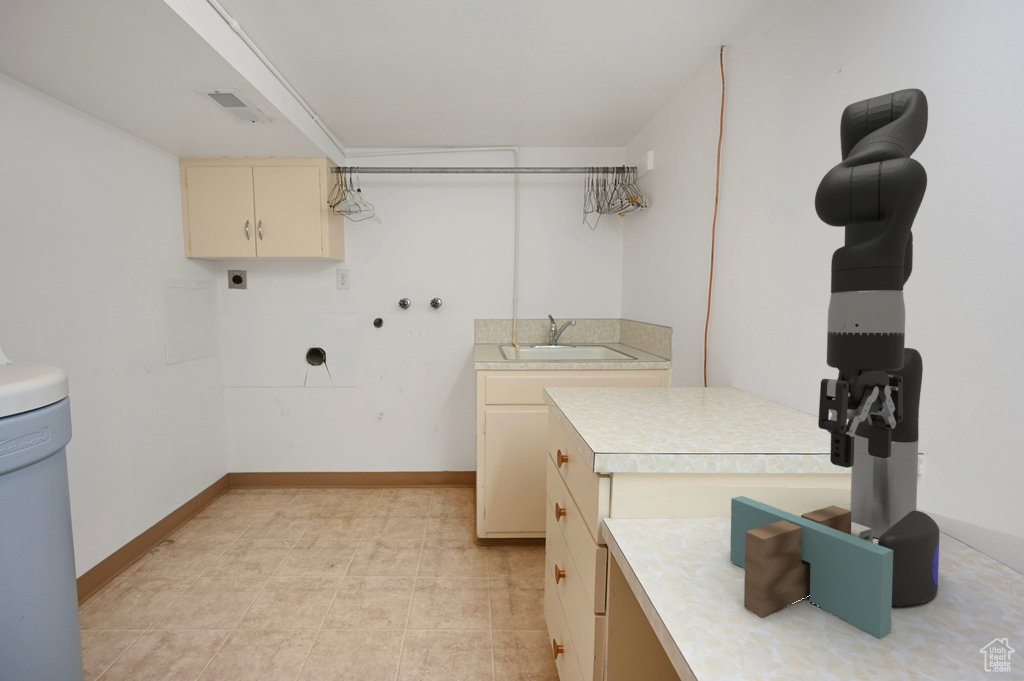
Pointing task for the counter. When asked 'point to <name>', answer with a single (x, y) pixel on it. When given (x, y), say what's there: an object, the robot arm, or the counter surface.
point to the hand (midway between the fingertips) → (861, 461)
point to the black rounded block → (913, 558)
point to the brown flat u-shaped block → (782, 561)
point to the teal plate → (829, 565)
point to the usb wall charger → (862, 532)
